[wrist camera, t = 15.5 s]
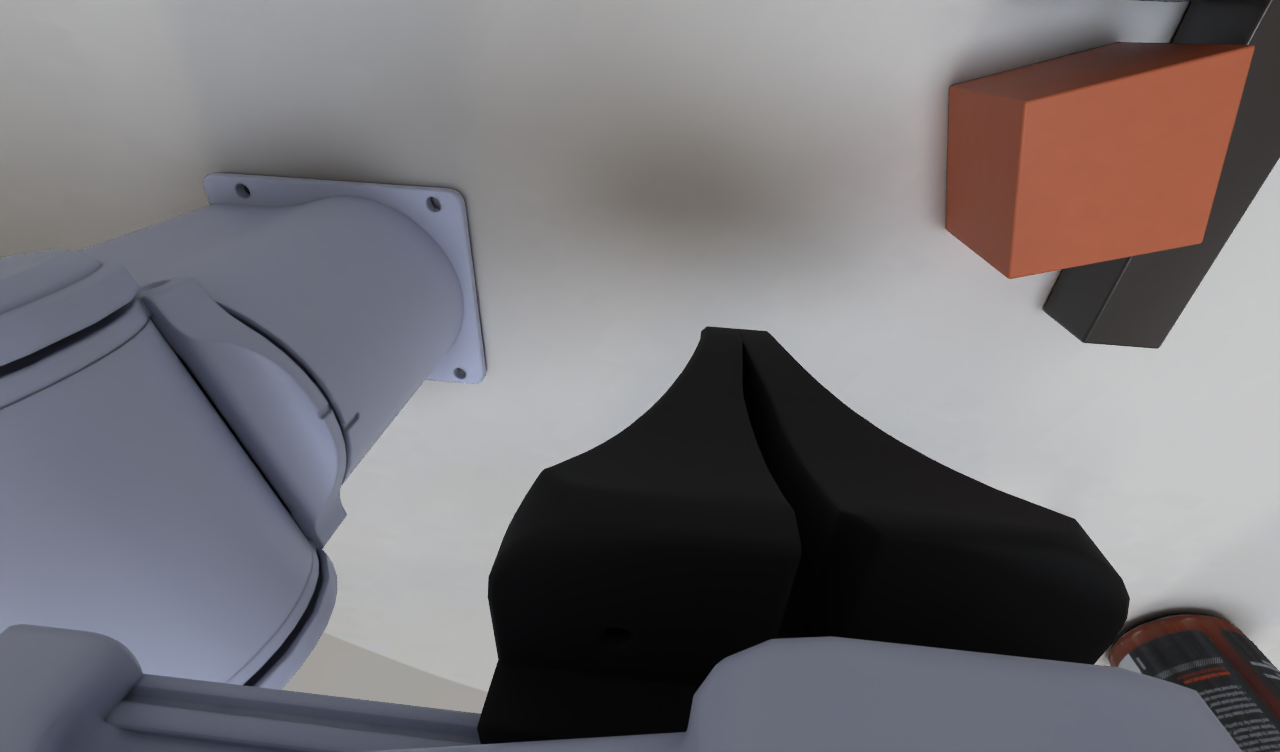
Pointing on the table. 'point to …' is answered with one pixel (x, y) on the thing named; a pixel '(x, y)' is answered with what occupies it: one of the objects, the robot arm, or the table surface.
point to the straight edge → (1166, 280)
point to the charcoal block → (1170, 0)
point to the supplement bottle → (1210, 672)
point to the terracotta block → (1092, 154)
